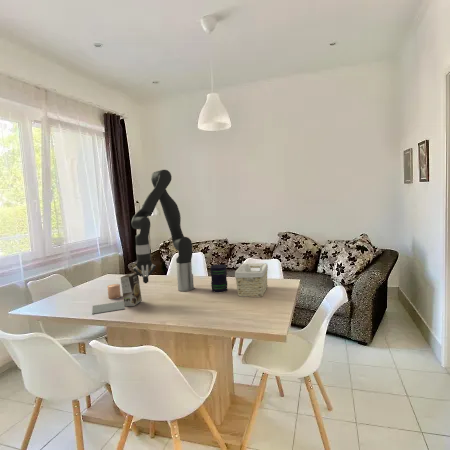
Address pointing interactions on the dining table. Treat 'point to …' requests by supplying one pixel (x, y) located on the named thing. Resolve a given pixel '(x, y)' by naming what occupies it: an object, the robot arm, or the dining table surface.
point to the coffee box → (131, 289)
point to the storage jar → (218, 278)
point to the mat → (108, 307)
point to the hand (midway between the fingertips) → (145, 283)
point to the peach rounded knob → (114, 291)
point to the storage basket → (251, 280)
